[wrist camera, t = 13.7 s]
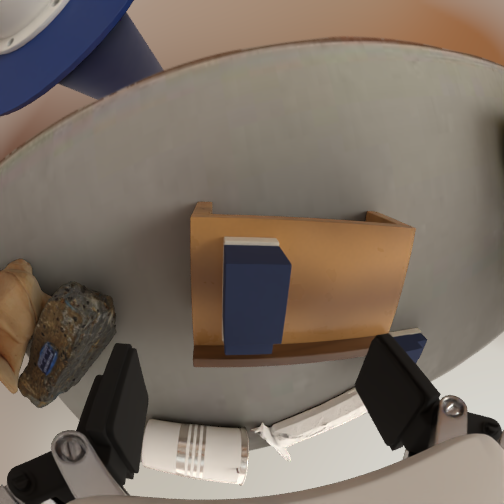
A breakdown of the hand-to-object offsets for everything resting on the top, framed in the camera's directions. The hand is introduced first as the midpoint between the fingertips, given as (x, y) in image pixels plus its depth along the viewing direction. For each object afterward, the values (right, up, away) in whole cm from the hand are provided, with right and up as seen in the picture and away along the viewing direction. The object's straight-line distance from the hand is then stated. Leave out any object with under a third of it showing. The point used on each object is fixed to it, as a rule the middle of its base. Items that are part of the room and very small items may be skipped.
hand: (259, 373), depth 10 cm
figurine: (-28, -5, +6) cm, 29 cm away
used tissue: (+9, -19, +23) cm, 31 cm away
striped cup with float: (-13, -19, +17) cm, 29 cm away
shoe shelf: (+3, +4, +15) cm, 15 cm away
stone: (-24, -9, +11) cm, 28 cm away
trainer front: (-1, +2, +8) cm, 8 cm away
